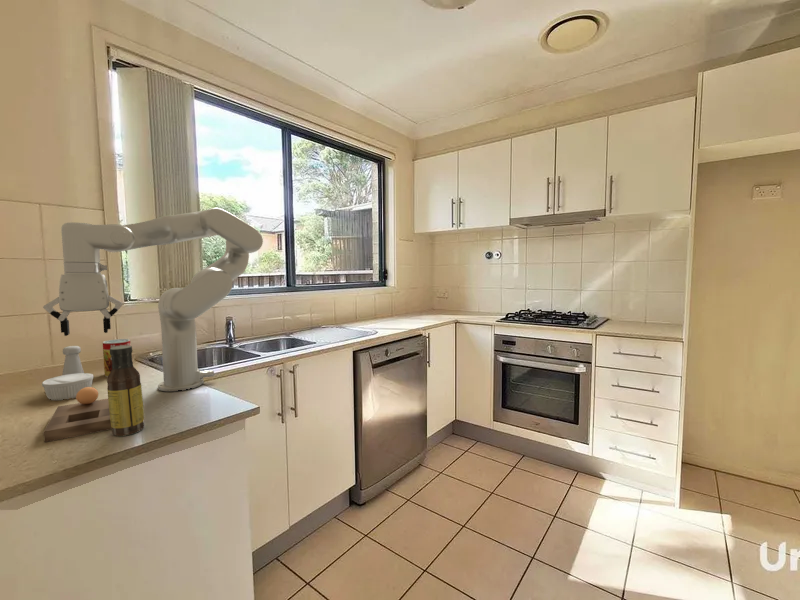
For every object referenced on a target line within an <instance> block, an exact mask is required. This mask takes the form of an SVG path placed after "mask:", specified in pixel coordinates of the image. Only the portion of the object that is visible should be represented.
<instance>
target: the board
mask: <svg viewBox="0 0 800 600" xmlns="http://www.w3.org/2000/svg"><path fill="white" fill-rule="evenodd" d="M108 430H112V427H111V421H110V412H109V401H108V398H102V399H96V400H95V401H94V402H93V403H90V404H81V403H79V402H77V403H72V404H64V405H59V406H57V407H56V409H55V411H54V413H53V414H52V416H51V418H50V419H49V421H48V423H47V425H46V426H45V429H44V430H43V438H44V440H43V441H44V443H48V442H53V440H54V441H58V439H59V440H64V439H69V438H73V437H78V436H79V437H80V436H83V435H88V434H93V433H94V434H95V433H98V432H104V431H108ZM68 437H69V438H68ZM63 438H64V439H63Z"/></svg>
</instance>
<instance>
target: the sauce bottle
mask: <svg viewBox="0 0 800 600" xmlns="http://www.w3.org/2000/svg"><path fill="white" fill-rule="evenodd" d="M132 353H133V346H132V345H131V346H117V347H113V348H110V355H111V357H112V370H111V372H110V374H109V375H108V377H107V378H106V381H107V383H106V384H107V390H106V391H107V399H108V401H109V412H110V421H111V427H112V429H111V434H112V435H113V436H116V437H126V435H127V436H130V435H134V434H137V433H138V432H141V431H142V430H143V429H144V427H145V422H144V420H145V411H144V404H143V403H144V399H143V389H142V388H143V387H142V383H141V375H140V372H139V371H138V370H137V368H136V367H135V366H134V362H133V356H132Z"/></svg>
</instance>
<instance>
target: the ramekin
mask: <svg viewBox="0 0 800 600" xmlns="http://www.w3.org/2000/svg"><path fill="white" fill-rule="evenodd" d="M93 379H94V374H93V373H88V372H87V373H85V372H84V373H77V374H68V375H63V376H62V375H58V376H54V377H51V378H48V379H45V380H44V381H42V382H41V386H42V387H43V388H44V393H45V397H47V399H49V400H50V399H51V400H50V401H64V400H63V399H67V400H70V399H69V398H72V399H76V398H75V397H76V395H77V393H78V391H80V390H81V389H83V388H85V387H92V384H93Z"/></svg>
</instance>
